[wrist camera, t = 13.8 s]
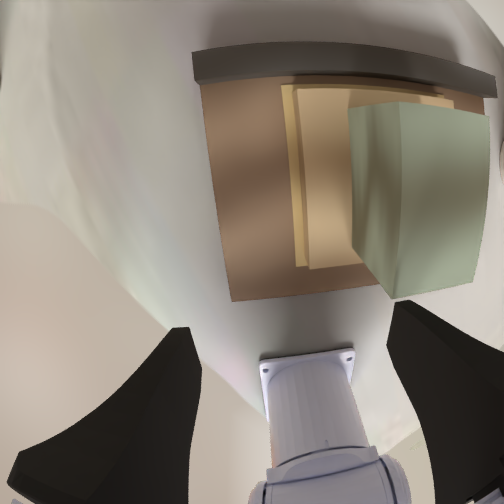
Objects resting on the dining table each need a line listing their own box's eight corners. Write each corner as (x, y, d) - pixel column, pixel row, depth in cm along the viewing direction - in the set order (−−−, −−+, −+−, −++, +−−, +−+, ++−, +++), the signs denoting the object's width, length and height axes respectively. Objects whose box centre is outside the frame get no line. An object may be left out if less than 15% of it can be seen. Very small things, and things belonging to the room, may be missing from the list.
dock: (458, 256, 19) (483, 276, 16) (233, 285, 19) (230, 316, 16) (463, 78, 13) (494, 76, 10) (202, 67, 14) (191, 52, 11)
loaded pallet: (435, 241, 16) (497, 292, 10) (304, 257, 16) (333, 329, 10) (438, 101, 12) (517, 102, 6) (291, 93, 13) (325, 66, 7)
